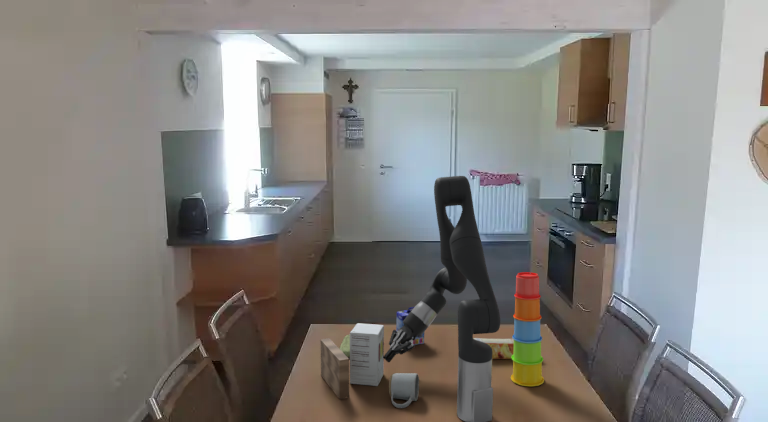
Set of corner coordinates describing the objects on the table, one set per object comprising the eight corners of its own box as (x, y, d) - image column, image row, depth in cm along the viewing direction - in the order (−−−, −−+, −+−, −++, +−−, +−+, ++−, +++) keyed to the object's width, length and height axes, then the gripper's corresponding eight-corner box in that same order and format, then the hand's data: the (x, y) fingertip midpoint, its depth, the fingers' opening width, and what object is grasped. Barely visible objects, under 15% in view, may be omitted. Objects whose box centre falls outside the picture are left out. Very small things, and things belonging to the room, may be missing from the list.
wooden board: (349, 397, 167) (348, 358, 165) (339, 399, 166) (339, 360, 164) (329, 373, 183) (329, 338, 182) (320, 374, 182) (320, 339, 180)
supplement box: (378, 387, 174) (378, 334, 171) (349, 384, 176) (349, 332, 173) (384, 373, 183) (384, 324, 181) (356, 371, 185) (356, 322, 182)
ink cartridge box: (401, 347, 205) (402, 309, 203) (395, 342, 210) (395, 305, 208) (425, 343, 209) (426, 306, 207) (418, 338, 214) (418, 302, 212)
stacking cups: (514, 387, 174) (519, 278, 169) (507, 373, 184) (511, 270, 179) (547, 387, 174) (553, 279, 169) (539, 373, 184) (544, 270, 179)
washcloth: (378, 341, 212) (378, 333, 212) (373, 360, 195) (373, 351, 194) (344, 340, 213) (344, 332, 213) (335, 358, 196) (335, 350, 196)
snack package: (529, 354, 201) (530, 335, 200) (534, 361, 194) (535, 342, 193) (470, 353, 201) (471, 335, 200) (473, 361, 194) (474, 342, 193)
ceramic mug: (392, 390, 171) (392, 367, 170) (419, 393, 170) (419, 369, 169) (385, 408, 161) (385, 383, 160) (414, 411, 160) (414, 385, 158)
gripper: (404, 305, 189) (370, 346, 186) (422, 318, 177) (386, 361, 174) (417, 319, 192) (385, 359, 188) (436, 331, 180) (402, 374, 176)
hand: (385, 360), depth 181 cm, fingers closed
